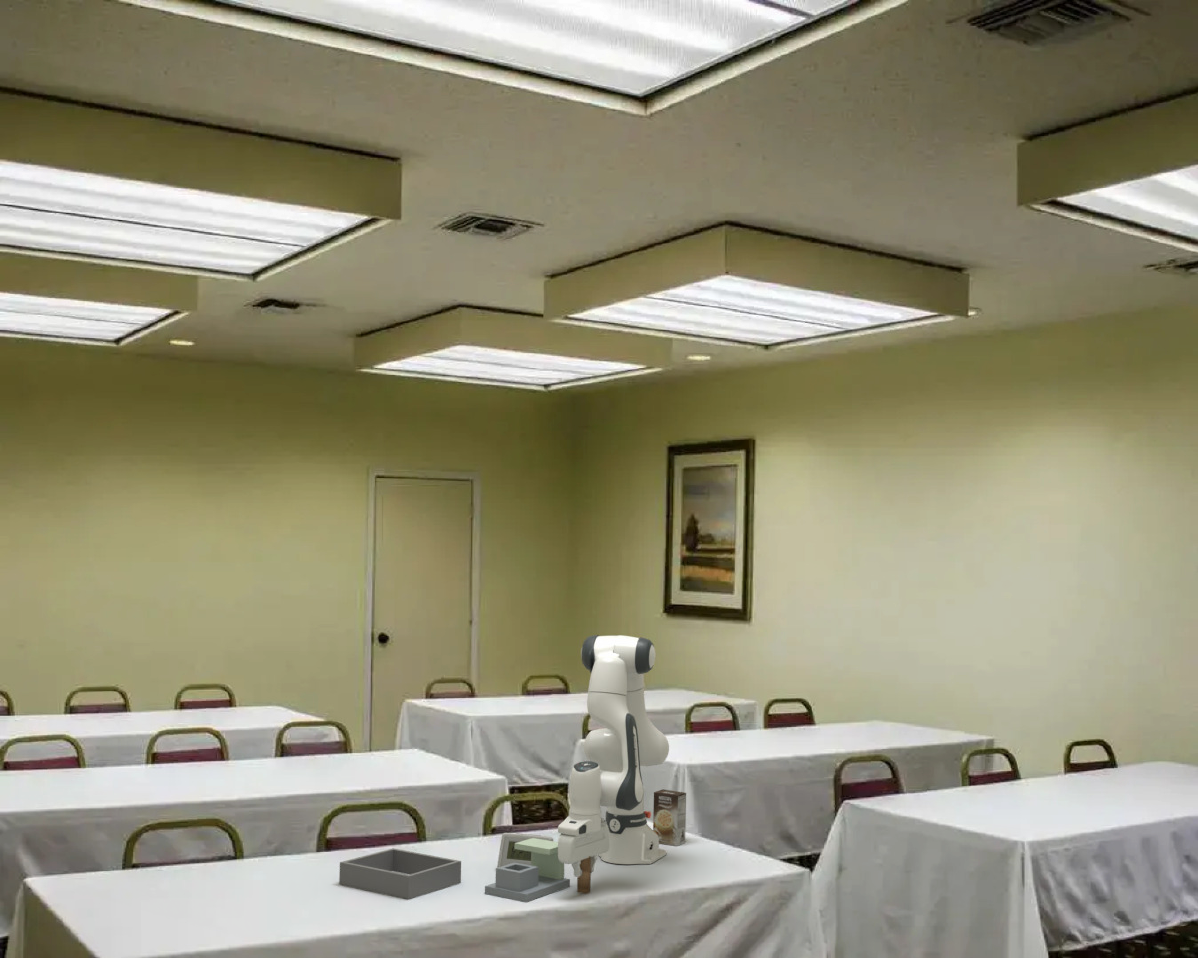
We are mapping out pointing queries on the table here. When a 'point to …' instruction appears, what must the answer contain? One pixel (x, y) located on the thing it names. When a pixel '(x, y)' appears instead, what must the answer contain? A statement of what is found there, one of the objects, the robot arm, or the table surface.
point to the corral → (380, 878)
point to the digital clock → (515, 855)
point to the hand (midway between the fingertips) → (584, 874)
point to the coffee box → (669, 817)
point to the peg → (584, 876)
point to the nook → (531, 873)
